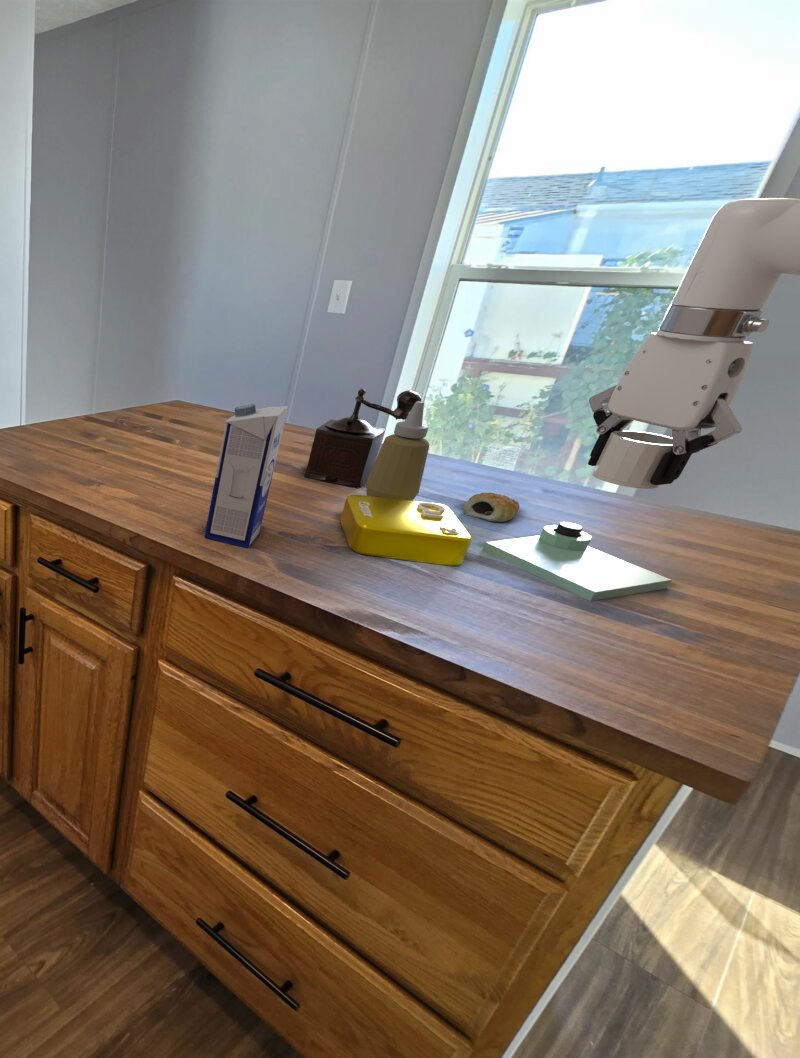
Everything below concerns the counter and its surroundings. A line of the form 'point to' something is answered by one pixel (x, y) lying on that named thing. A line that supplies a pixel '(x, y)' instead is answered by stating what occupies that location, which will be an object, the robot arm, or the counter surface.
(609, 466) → the small bowl
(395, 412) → the manual coffee grinder
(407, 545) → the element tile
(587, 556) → the scale
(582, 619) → the counter surface
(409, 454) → the squeeze bottle
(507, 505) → the pastry
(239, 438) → the milk carton
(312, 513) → the counter surface
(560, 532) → the tare button
